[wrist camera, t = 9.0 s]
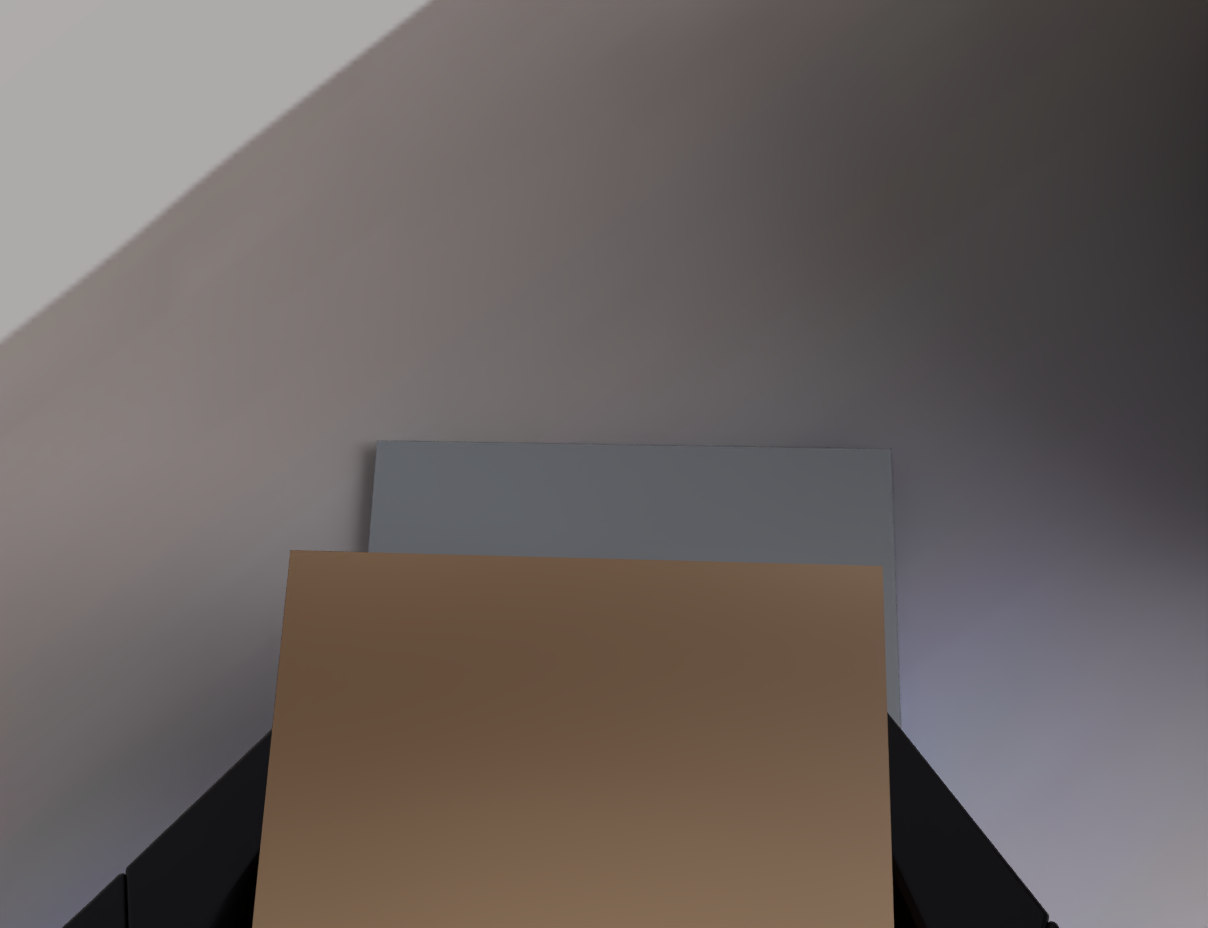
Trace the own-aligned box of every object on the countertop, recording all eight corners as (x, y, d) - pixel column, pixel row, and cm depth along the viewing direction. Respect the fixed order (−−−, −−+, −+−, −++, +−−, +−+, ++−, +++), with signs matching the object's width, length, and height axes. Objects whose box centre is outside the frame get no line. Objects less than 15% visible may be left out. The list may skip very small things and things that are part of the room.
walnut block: (744, 861, 16) (905, 1272, 6) (490, 849, 17) (222, 1219, 6) (744, 601, 17) (882, 566, 7) (504, 594, 17) (290, 550, 7)
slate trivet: (899, 1011, 18) (911, 1029, 17) (346, 979, 18) (332, 995, 18) (881, 456, 20) (890, 449, 19) (387, 447, 21) (377, 440, 20)
